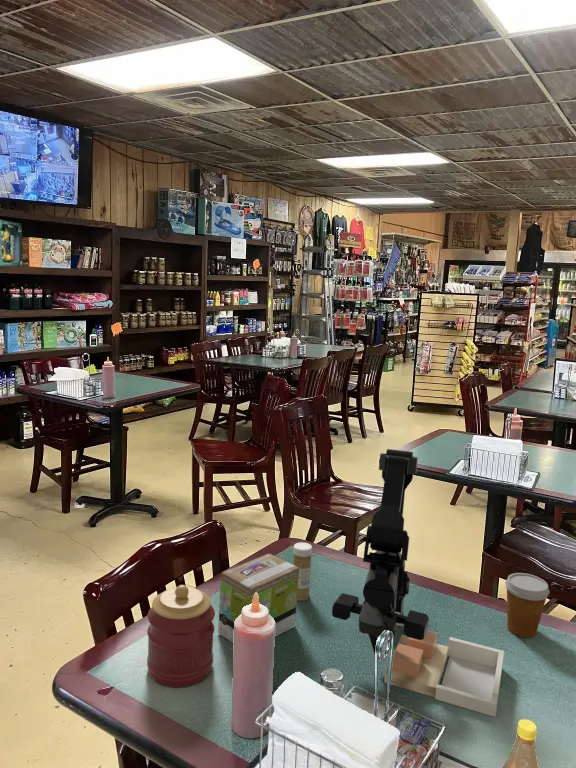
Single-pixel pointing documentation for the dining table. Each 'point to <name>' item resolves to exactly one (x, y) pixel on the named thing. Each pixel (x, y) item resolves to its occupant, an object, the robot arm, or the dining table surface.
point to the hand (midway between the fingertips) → (377, 653)
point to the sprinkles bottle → (303, 568)
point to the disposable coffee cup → (525, 603)
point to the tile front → (407, 660)
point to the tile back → (425, 644)
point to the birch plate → (422, 672)
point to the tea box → (259, 592)
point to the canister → (180, 637)
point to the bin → (472, 676)
